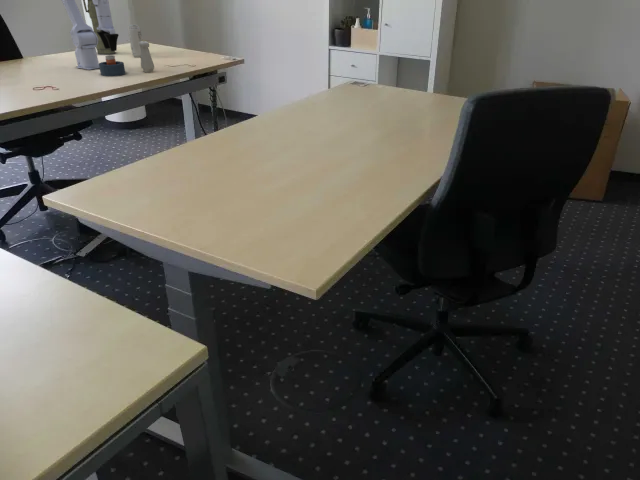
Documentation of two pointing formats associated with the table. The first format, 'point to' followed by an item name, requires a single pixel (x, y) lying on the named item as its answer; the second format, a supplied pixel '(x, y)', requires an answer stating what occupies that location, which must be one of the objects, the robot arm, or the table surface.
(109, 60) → the shaker
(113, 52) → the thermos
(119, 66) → the dark blue bowl
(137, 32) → the energy drink can
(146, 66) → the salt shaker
